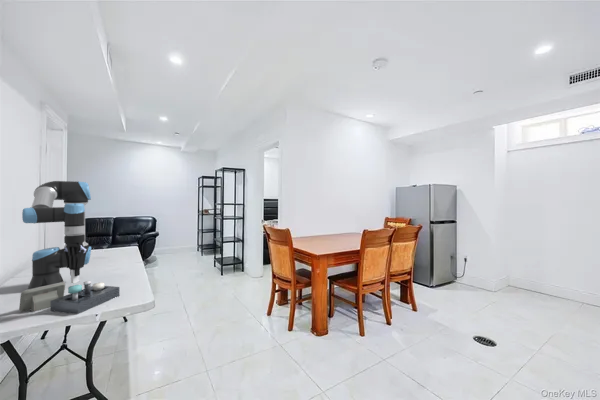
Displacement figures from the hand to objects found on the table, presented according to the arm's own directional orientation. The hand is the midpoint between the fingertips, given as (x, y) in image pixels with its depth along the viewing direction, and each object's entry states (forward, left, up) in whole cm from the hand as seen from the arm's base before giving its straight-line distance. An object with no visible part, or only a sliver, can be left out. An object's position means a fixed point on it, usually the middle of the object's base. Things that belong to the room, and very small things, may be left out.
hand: (75, 282), depth 124 cm
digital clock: (-17, -1, -13) cm, 22 cm away
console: (0, +6, -13) cm, 14 cm away
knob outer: (0, 0, -9) cm, 9 cm away
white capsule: (0, +6, -8) cm, 10 cm away
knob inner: (0, +12, -12) cm, 17 cm away
